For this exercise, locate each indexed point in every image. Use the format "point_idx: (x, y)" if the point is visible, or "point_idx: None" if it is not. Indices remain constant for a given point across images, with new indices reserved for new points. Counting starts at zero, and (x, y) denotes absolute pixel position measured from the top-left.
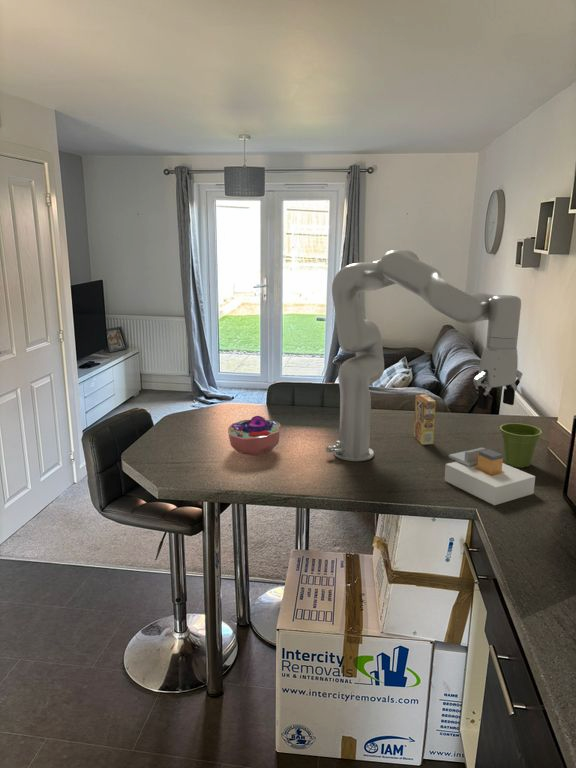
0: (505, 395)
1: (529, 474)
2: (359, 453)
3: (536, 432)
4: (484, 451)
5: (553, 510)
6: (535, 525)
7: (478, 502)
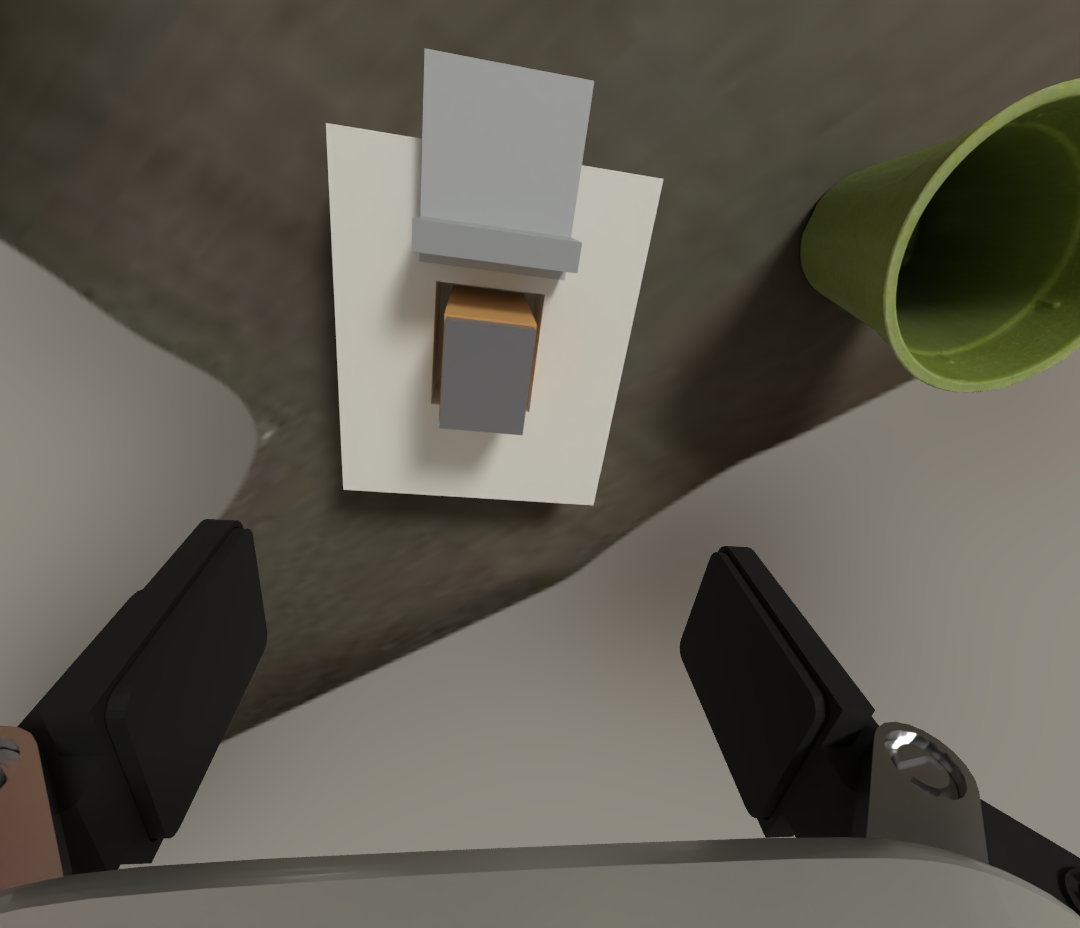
0: (752, 653)
1: (594, 481)
2: None
3: (1065, 314)
4: (474, 342)
5: (510, 566)
6: (367, 592)
7: (322, 403)
